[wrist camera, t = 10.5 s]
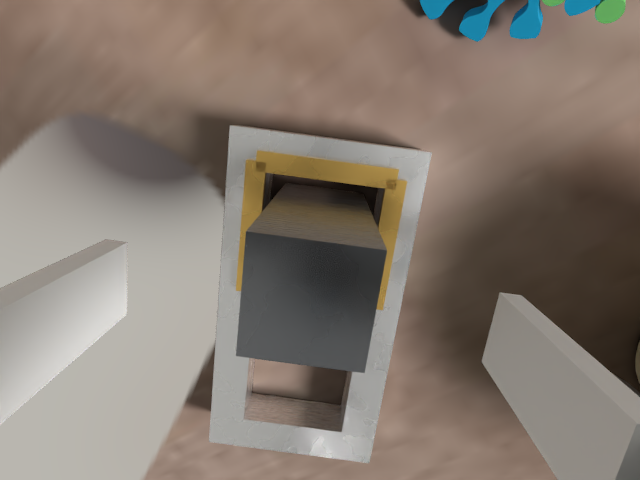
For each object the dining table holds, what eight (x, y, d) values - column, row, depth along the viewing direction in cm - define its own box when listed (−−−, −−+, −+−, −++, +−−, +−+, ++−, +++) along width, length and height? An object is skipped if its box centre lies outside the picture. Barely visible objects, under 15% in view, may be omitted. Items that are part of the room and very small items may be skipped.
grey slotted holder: (366, 433, 28) (369, 468, 25) (220, 414, 27) (207, 446, 25) (421, 149, 22) (433, 153, 20) (241, 125, 22) (227, 125, 19)
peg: (351, 265, 24) (364, 373, 14) (278, 255, 24) (235, 355, 14) (363, 192, 23) (387, 250, 13) (286, 182, 23) (246, 231, 13)
